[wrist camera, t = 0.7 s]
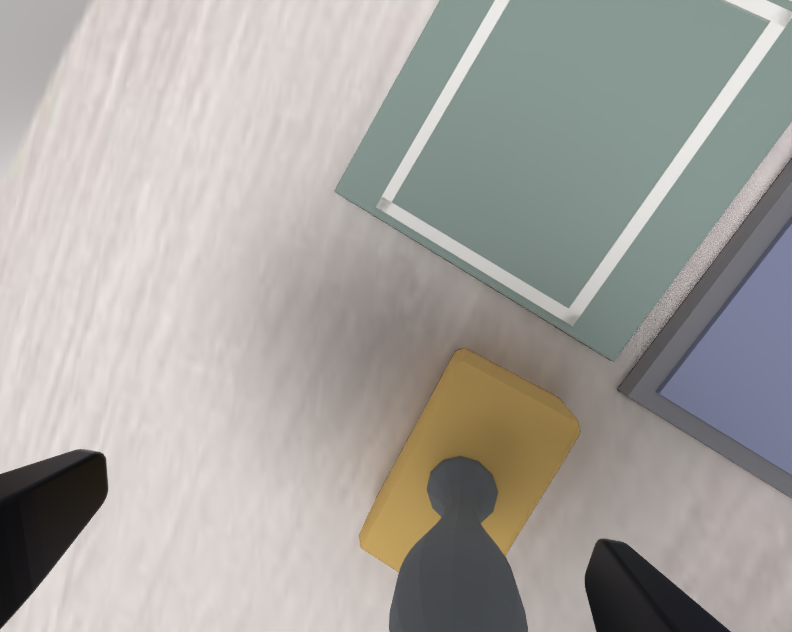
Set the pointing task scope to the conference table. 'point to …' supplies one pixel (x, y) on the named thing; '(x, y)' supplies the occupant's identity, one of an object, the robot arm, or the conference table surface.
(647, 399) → the ink pad
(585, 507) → the conference table surface
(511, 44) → the marking board
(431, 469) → the rubber stamp
